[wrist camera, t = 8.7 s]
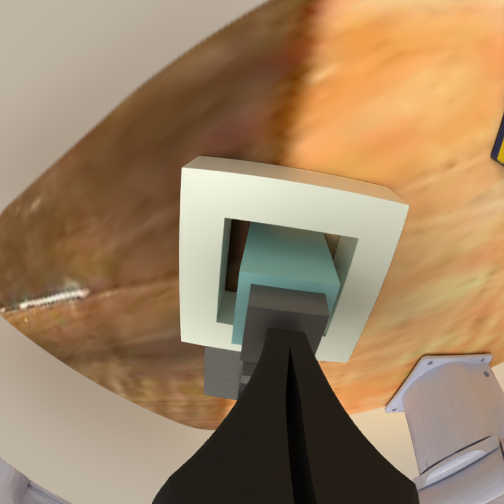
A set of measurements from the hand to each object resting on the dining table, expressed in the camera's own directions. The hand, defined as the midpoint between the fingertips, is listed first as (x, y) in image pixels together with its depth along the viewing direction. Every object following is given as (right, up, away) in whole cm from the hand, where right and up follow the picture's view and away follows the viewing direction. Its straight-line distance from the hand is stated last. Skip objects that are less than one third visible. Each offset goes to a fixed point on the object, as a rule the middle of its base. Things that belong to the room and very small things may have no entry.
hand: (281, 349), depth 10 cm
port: (+1, +3, +6) cm, 7 cm away
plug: (+1, +3, +6) cm, 7 cm away
